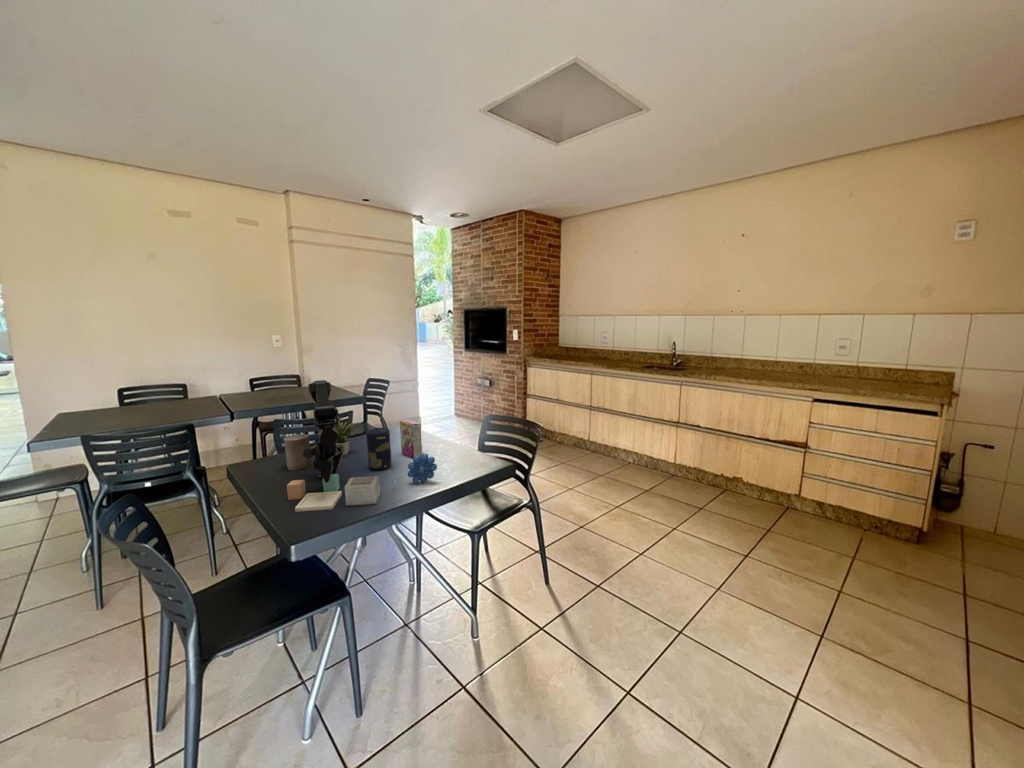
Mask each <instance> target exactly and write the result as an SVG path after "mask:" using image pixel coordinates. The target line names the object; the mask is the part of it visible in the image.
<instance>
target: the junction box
mask: <svg viewBox="0 0 1024 768" xmlns="http://www.w3.org/2000/svg"><path fill="white" fill-rule="evenodd" d="M344 495H345V506H346V507H347V506H349V507H350V506H364V505H377V502H378V500H379V498H380V497H381V496H380V495H381V489H380V475H378V476H377V475H376V476H375V475H374V476H360V477H350V478H349V479H348V480H347V483H346V484H345V485H344Z"/></svg>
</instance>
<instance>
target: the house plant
mask: <svg viewBox="0 0 1024 768" xmlns="http://www.w3.org/2000/svg"><path fill="white" fill-rule="evenodd" d="M347 423H348V421H346V422H345V423H344V424H343V421H341V422H340V421H338V424H337V425H338V428H337V427H336V426H335V430H336V432H337V435H338V438H337V440H338V441H337V442H336V445H342V446H343V447H344V452H343V455H342V456H346V455H347V454H349V446H350V440H349V439H347V437H349V436H354V435H355V432H352V431H354V430H356V428H352V425H353V422H352V423H350V424H348V425H347ZM346 425H347V426H346ZM344 427H346V428H345V429H344ZM339 453H340V452H339Z"/></svg>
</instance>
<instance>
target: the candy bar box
mask: <svg viewBox="0 0 1024 768" xmlns="http://www.w3.org/2000/svg"><path fill="white" fill-rule="evenodd" d="M421 427H422V426H421V423H420V422H417V421H414V420H411V419H403V420H400V421H399V428H400V429H399V431H400V433H399V434H400V444H401V445H400V446H401V447H400V448H401V454H402V455H404V456H406V457H408V458H411V459H413V458H414V457H415V456H420V458H421V456H422V455H423V447H422V444H423V443H422V428H421Z"/></svg>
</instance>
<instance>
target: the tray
mask: <svg viewBox="0 0 1024 768" xmlns="http://www.w3.org/2000/svg"><path fill="white" fill-rule="evenodd" d="M342 495H343V491H342V490H338V491H334V492H324V491H322V492H321V491H320V492H319V491H318V492H306V494H305V495H304V496H303V498H302V499H300V501H299V503H297V505H296V506H295V507H294V512H295V513H299V512H300V513H301V512H314V511H327V510H333V509H334V507H335V506H336V505H337V503H338V502H339V500H340V499H341V497H342Z"/></svg>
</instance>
